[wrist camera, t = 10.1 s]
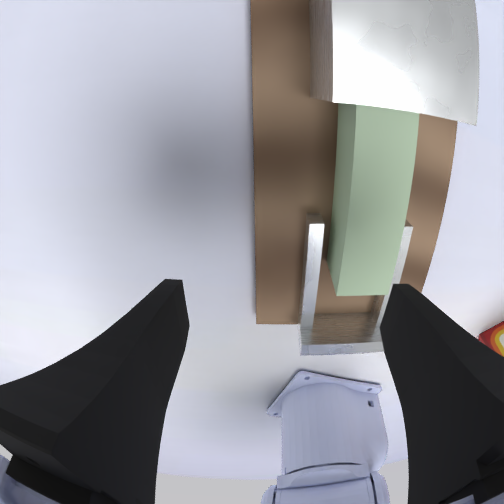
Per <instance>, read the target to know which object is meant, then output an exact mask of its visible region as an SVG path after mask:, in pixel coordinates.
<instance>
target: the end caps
mask: <svg viewBox="0 0 504 504" xmlns="http://www.w3.org/2000/svg"><path fill="white" fill-rule="evenodd" d="M309 20H310V98H314V99H320V100H325V101H330V102H338V103H350V104H359V105H368V106H376V107H384V108H391V109H398V110H404V111H410V112H416V113H421V114H426V115H431V116H436V117H441V118H446V119H450V120H454V121H459V122H463V123H467V124H471V125H474V126H476V125H477V114H478V98H479V40H478V26H477V15H476V6H475V0H309ZM412 230H413V226H412V225H411V224H410V223H409V222H408V220H407V219H406V220H405V225H404V230H403V235H402V240H401V245H400V249H399V253H398V258H397V262H396V266H395V270H394V274H393V278H392V282H391V285H390V289H389V293H388V295H375V298H374V302H373V306H372V310H371V312H364V313H326V314H314V312H315V305H316V297H317V290H318V281H319V273H320V264H321V255H322V245H323V235H324V222H323V219H322V216H321V214H320V213H307V214H306V230H305V245H304V259H303V272H302V284H301V295H300V306H299V316H298V333H299V344H300V355H333V354H353V353H369V352H382V351H384V348H383V343H382V338H381V333H380V328H379V327H380V324H381V321H382V318H383V315H384V312H385V309H386V306H387V303H388V299H389V296H390V293H391V289H392V286H393V284H399V282H400V279H401V275H402V271H403V268H404V264H405V260H406V256H407V252H408V247H409V243H410V239H411V234H412Z"/></svg>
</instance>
